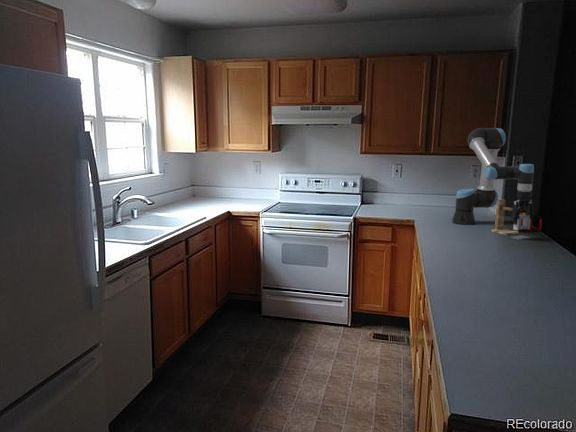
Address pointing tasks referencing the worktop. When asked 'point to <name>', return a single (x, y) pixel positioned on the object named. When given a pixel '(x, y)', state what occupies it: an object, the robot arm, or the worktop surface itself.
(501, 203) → the stand
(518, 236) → the pad
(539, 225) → the mug
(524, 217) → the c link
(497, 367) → the worktop surface
